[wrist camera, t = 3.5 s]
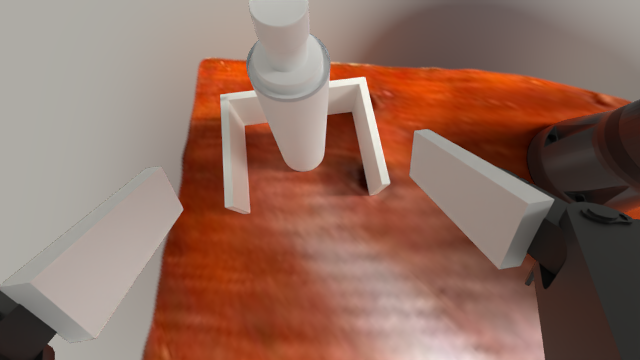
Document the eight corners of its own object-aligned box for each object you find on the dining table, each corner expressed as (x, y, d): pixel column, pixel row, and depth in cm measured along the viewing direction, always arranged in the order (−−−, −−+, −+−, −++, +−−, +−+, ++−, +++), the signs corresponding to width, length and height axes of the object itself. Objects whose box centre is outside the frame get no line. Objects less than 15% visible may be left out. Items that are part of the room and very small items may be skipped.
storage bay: (356, 105, 38) (365, 76, 31) (376, 194, 34) (390, 183, 27) (238, 120, 37) (220, 94, 31) (243, 214, 33) (224, 207, 27)
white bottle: (299, 180, 35) (257, 44, 11) (274, 149, 36) (184, -36, 12) (333, 154, 36) (363, -22, 12) (306, 125, 37) (285, -88, 13)
